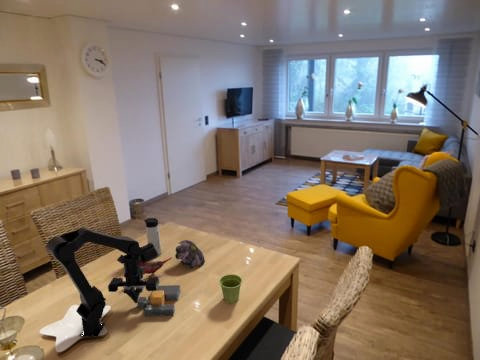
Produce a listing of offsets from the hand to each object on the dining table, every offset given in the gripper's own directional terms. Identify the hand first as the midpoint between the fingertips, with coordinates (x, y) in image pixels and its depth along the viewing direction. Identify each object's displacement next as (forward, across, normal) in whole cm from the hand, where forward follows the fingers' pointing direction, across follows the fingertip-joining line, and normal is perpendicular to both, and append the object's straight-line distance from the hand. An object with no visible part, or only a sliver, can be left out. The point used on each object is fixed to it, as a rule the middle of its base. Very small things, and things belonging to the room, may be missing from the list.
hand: (136, 302), depth 134 cm
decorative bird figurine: (+2, -2, -22) cm, 23 cm away
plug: (+2, -6, 0) cm, 6 cm away
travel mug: (+2, +3, -41) cm, 42 cm away
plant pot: (+2, -38, -3) cm, 38 cm away
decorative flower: (+2, -17, -32) cm, 37 cm away
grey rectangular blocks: (+2, -11, -1) cm, 11 cm away
